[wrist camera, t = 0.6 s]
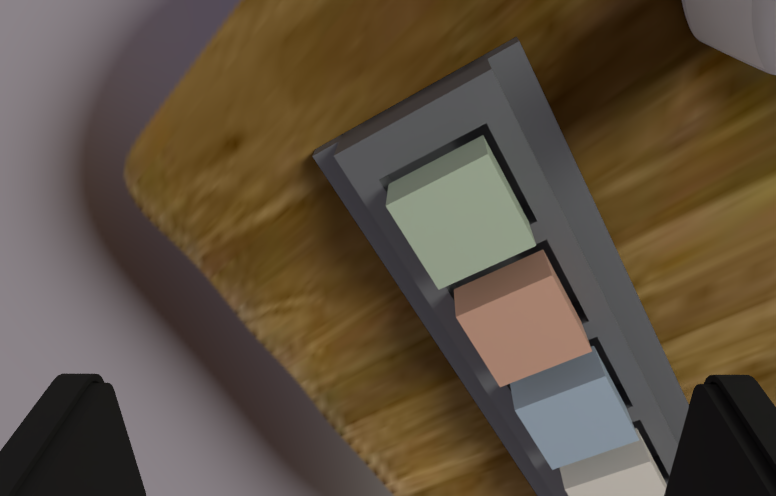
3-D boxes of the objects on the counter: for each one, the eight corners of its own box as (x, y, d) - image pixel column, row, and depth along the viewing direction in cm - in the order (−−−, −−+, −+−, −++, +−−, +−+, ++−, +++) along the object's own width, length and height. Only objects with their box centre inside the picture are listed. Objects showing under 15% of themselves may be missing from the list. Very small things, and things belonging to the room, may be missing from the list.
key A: (665, 481, 37) (679, 516, 35) (587, 505, 38) (597, 540, 36) (636, 427, 35) (650, 461, 33) (556, 455, 36) (564, 489, 34)
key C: (528, 221, 29) (536, 245, 27) (437, 263, 30) (438, 289, 28) (482, 134, 27) (487, 154, 25) (388, 184, 29) (385, 205, 26)
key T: (626, 407, 34) (639, 440, 32) (544, 436, 36) (552, 469, 33) (593, 345, 32) (605, 376, 30) (509, 379, 34) (514, 410, 32)
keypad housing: (708, 448, 40) (728, 486, 37) (546, 501, 43) (554, 539, 40) (516, 37, 28) (525, 50, 26) (315, 149, 31) (305, 171, 29)
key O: (581, 321, 32) (592, 351, 30) (495, 356, 33) (500, 387, 31) (543, 249, 30) (552, 275, 28) (453, 289, 31) (455, 317, 29)
